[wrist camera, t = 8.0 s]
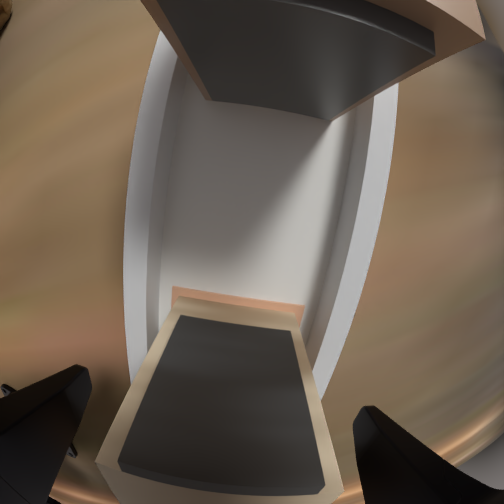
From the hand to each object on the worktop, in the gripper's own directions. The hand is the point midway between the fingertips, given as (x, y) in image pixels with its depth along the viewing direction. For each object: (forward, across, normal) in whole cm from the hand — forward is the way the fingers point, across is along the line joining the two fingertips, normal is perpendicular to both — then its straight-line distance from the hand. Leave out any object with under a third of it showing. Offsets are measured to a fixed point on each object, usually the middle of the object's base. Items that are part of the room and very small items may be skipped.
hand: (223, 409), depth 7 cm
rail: (+4, 0, -5) cm, 7 cm away
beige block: (+3, 0, 0) cm, 3 cm away
